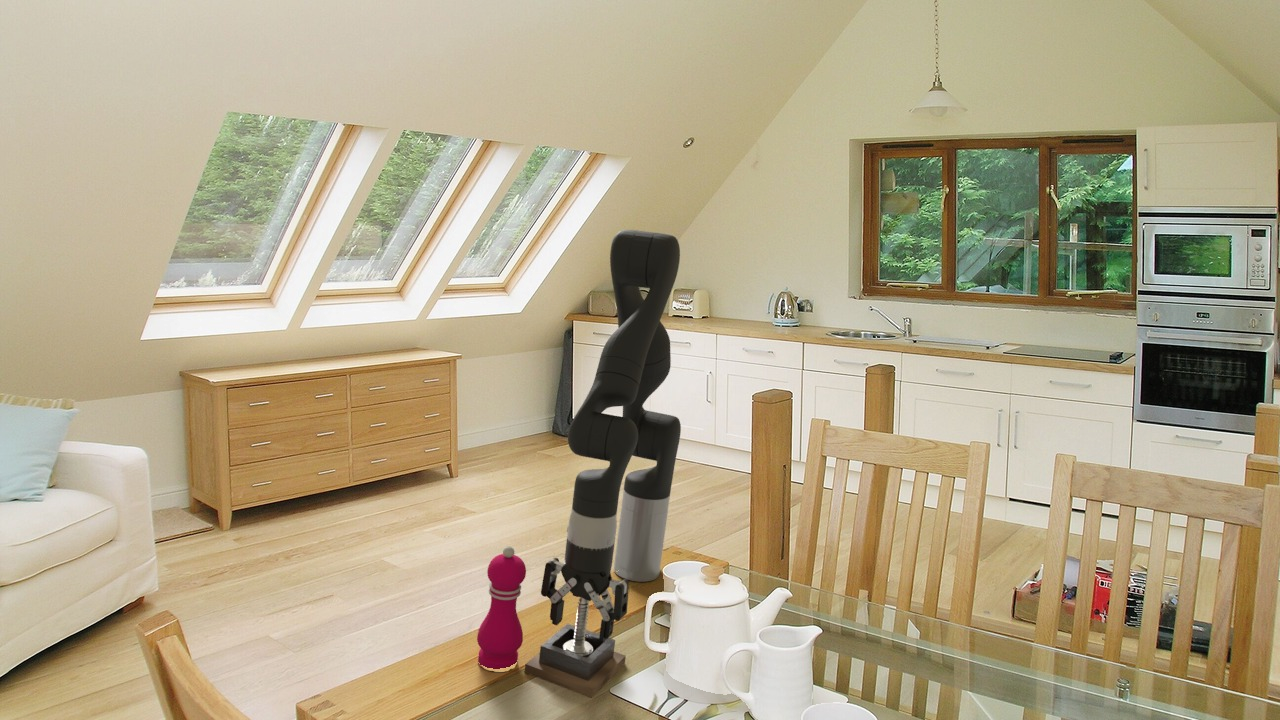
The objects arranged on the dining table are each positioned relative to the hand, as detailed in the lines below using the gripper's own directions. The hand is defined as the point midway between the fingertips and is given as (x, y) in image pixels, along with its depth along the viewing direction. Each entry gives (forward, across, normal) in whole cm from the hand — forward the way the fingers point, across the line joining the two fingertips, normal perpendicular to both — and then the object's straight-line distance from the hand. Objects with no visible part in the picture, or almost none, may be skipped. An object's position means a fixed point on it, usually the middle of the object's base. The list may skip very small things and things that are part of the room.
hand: (580, 630), depth 154 cm
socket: (+5, 0, 0) cm, 5 cm away
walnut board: (+7, 0, 0) cm, 7 cm away
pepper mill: (+7, +11, +6) cm, 14 cm away
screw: (+5, 0, 0) cm, 5 cm away
